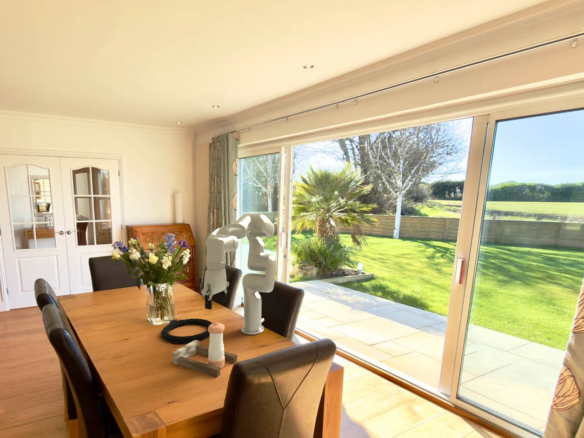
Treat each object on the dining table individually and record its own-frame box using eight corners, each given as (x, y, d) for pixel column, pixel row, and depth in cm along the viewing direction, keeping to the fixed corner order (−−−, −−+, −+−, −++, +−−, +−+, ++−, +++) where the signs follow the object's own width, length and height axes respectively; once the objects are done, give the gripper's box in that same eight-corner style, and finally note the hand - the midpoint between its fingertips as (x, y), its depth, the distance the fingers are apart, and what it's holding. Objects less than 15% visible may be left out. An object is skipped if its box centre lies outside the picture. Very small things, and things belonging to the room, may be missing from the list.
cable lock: (179, 343, 151) (148, 326, 170) (179, 350, 151) (148, 333, 170) (225, 325, 172) (193, 312, 191) (225, 332, 172) (193, 318, 191)
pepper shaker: (211, 372, 132) (211, 327, 131) (205, 364, 138) (204, 321, 137) (227, 366, 136) (227, 323, 135) (220, 359, 142) (220, 318, 141)
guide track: (195, 350, 151) (195, 339, 151) (237, 361, 141) (237, 350, 141) (172, 363, 138) (172, 352, 138) (217, 377, 128) (217, 365, 128)
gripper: (221, 261, 144) (221, 299, 145) (195, 268, 128) (194, 310, 129) (235, 263, 141) (235, 301, 142) (209, 270, 125) (209, 313, 126)
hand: (215, 305), depth 135 cm, fingers open, 9 cm apart
